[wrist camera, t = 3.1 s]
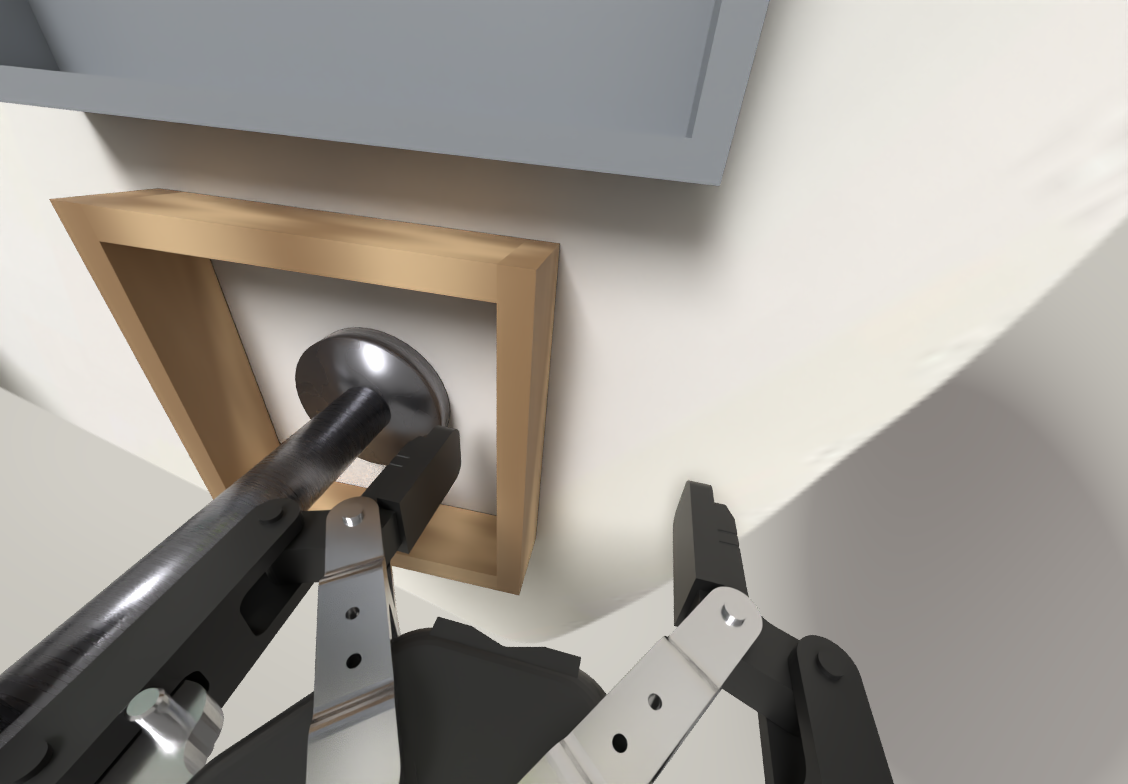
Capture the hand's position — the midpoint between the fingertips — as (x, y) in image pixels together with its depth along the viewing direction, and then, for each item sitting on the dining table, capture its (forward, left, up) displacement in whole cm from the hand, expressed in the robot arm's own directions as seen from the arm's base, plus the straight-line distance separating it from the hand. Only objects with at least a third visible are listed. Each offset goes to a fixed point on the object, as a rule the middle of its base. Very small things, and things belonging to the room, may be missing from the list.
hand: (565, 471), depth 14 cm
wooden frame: (-8, 0, -2) cm, 9 cm away
